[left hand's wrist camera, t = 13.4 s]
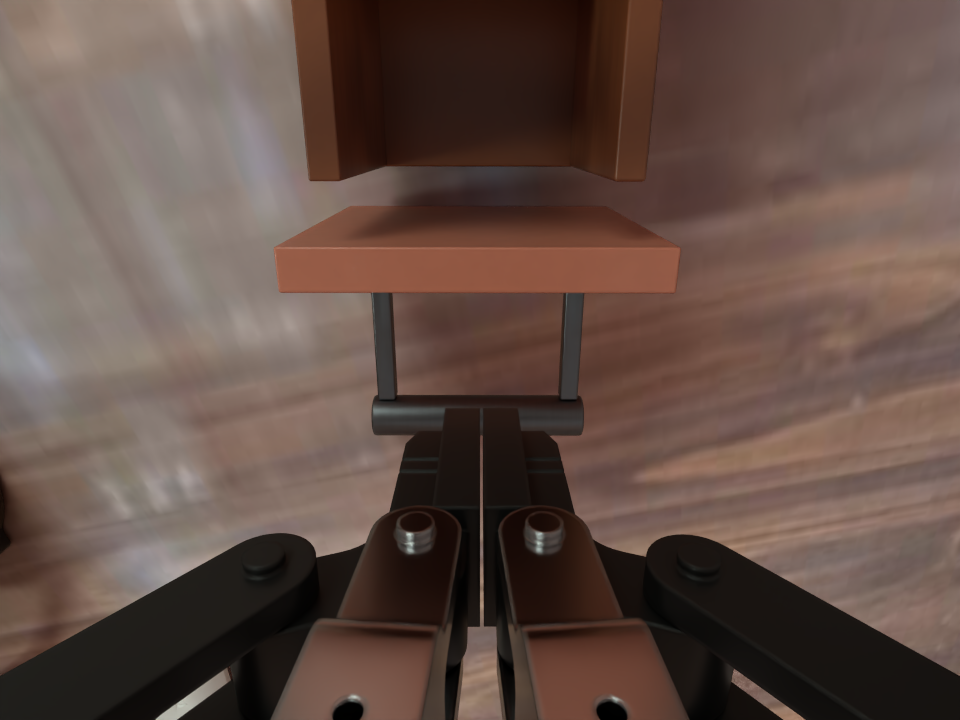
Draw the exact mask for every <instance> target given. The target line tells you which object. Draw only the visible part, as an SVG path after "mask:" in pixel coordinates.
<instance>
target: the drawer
mask: <svg viewBox="0 0 960 720" xmlns="http://www.w3.org/2000/svg"><path fill="white" fill-rule="evenodd" d="M291 1H292V11H293V22H294V32H295V42H296V52H297V63H298V73H299V83H300V94H301V104H302V114H303V124H304V135H305V145H306V155H307V166H308V176H309V180H310V181H341V180H344V179H347V178H350V177H353V176H357V175H360V174H363V173H366V172H369V171H372V170H375V169H379V168H382V167H385V166H553V167H575V168H578V169H581V170H584V171H587V172H590V173H593V174H596V175H599V176H602V177H605V178H608V179H611V180H614V181H617V182H642V181H645V179H646V172H647V162H648V152H649V141H650V131H651V121H652V110H653V100H654V90H655V80H656V69H657V59H658V49H659V38H660V28H661V18H662V8H663V0H291ZM680 253H681V248H680V247H678V246H676V245H674V244H673V243H671V242H669V241H667V240H665V239H664V238H662V237H660V236H658V235H656V234H655V233H653V232H651V231H649V230H647V229H646V228H644V227H642V226H640V225H638V224H637V223H635V222H633V221H631V220H629V219H628V218H626V217H624V216H622V215H620V214H619V213H617V212H615V211H613V210H612V209H610V208H608V207H602V206H350V207H348V208H346V209H344V210H342V211H341V212H339V213H337V214H335V215H333V216H331V217H329V218H328V219H326V220H324V221H322V222H320V223H318V224H316V225H315V226H313V227H311V228H309V229H307V230H305V231H304V232H302V233H300V234H298V235H296V236H294V237H292V238H291V239H289V240H287V241H285V242H283V243H281V244H279V245H278V246H276V247H274V254H275V263H276V271H277V279H278V287H279V292H281V293H371V294H372V310H373V325H374V340H375V355H376V371H377V386H378V395H376V396H375V397H374V400H373V404H372V429H373V432H374V434H375V435H416V434H417V433H418V432H419V431H442V428H443V421H444V413H445V408H480V435H483V408H518V412H519V419H520V426H521V431H544V432H545V433H546V434H548V435H563V436H579V435H581V434H582V431H583V426H584V408H583V401H582V398H581V396H579V395H578V381H579V366H580V350H581V335H582V320H583V305H584V293H675V292H676V286H677V278H678V270H679V261H680ZM392 293H563V311H562V330H561V349H560V367H559V386H558V394H559V395H397V392H398V391H397V372H396V353H395V334H394V315H393V296H392Z"/></svg>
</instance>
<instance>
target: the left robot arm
mask: <svg viewBox="0 0 960 720" xmlns="http://www.w3.org/2000/svg"><path fill="white" fill-rule="evenodd" d="M3 519H4V501H3V495H2V492H1V488H0V554H1V553H2V552H3V551H5V550H6V549H7V548H8V547H9V546H10V544H11V543H10V541H9V539H8V538H7V536H6V535H5V534H4V531H3V529H2V524H3ZM483 572H484V626H496V630H497V678H498V686H499V694H500V703H501V711H502V719H503V720H783V719H781V718H780V717H779V716H777V715H776V714H775V713H773V712H772V711H771V710H769V709H768V708H766V707H765V706H764V705H762V704H761V703H760V702H758V701H757V700H755V699H754V698H753V697H751V696H750V695H749V694H747V693H746V692H745V691H743V690H742V689H740V688H739V687H738V686H736V685H735V684H734V683H732V682H731V680H732V675H733V670H734V669H736V670H737V671H738V672H740V673H741V674H743V675H744V676H745V677H747V678H748V679H750V680H751V681H752V682H754V683H755V684H757V685H758V686H759V687H761V688H762V689H764V690H765V691H766V692H768V693H769V694H771V695H772V696H774V697H775V698H776V699H778V700H779V701H781V702H782V703H783V704H785V705H786V706H788V707H789V708H790V709H792V710H793V711H795V712H796V713H797V714H799V715H800V716H801V717H803V718H804V719H805V720H960V676H959V675H957V674H955V673H953V672H951V671H950V670H948V669H946V668H944V667H942V666H941V665H939V664H937V663H935V662H933V661H932V660H930V659H928V658H926V657H924V656H922V655H921V654H919V653H917V652H915V651H913V650H912V649H910V648H908V647H906V646H904V645H903V644H901V643H899V642H897V641H895V640H894V639H892V638H890V637H888V636H886V635H885V634H883V633H881V632H879V631H877V630H876V629H874V628H872V627H870V626H868V625H867V624H865V623H863V622H861V621H859V620H858V619H856V618H854V617H852V616H850V615H848V614H847V613H845V612H843V611H841V610H839V609H838V608H836V607H834V606H832V605H830V604H829V603H827V602H825V601H823V600H821V599H820V598H818V597H816V596H814V595H812V594H811V593H809V592H807V591H805V590H803V589H802V588H800V587H798V586H796V585H794V584H793V583H791V582H789V581H787V580H785V579H784V578H782V577H780V576H778V575H776V574H774V573H773V572H771V571H769V570H767V569H765V568H764V567H762V566H760V565H758V564H756V563H755V562H753V561H751V560H749V559H747V558H746V557H744V556H742V555H740V554H738V553H737V552H735V551H733V550H731V549H729V548H728V547H726V546H724V545H722V544H720V543H718V542H715V541H713V540H710V539H707V538H703V537H699V536H694V535H671V536H666V537H663V538H660V539H658V540H657V541H655V542H654V543H653V544H651V546H650V547H649V549H648V551H647V554H646V557H644V556H639V555H635V554H630V553H626V552H622V551H618V550H614V549H611V548H609V547H606V546H604V545H602V544H600V543H598V542H596V541H595V540H593V539H592V536H591V534H590V531H589V529H588V527H587V525H586V524H585V523H584V522H583V520H581V519H580V518H579V517H578V516H576V515H575V512H574V508H573V504H572V500H571V496H570V492H569V488H568V484H567V480H566V476H565V473H564V468H563V465H562V461H561V457H560V453H559V449H558V445H557V443H556V442H555V441H554V440H553V439H552V438H551V437H550V436H549V435H548V434H546V433H545V432H544V431H521V426H520V419H519V412H518V408H483ZM468 627H480V408H445V413H444V421H443V428H442V431H419V432H418V433H417V434H416V435H415V436H414V437H413V438H411V439H410V440H409V441H408V442H407V443H406V446H405V450H404V454H403V458H402V462H401V466H400V473H399V475H398V479H397V483H396V487H395V491H394V495H393V499H392V504H391V508H390V512H389V513H387V514H385V515H384V516H382V517H381V518H380V519H379V520H377V522H376V523H375V524H374V525H373V527H372V529H371V531H370V534H369V536H368V539H367V541H366V543H365V544H363V545H361V546H359V547H356V548H353V549H351V550H347V551H343V552H339V553H335V554H330V555H326V556H321V557H317V558H316V552H315V549H314V547H313V546H312V544H311V543H310V542H309V541H307V540H306V539H304V538H302V537H300V536H297V535H293V534H287V533H275V534H267V535H262V536H258V537H254V538H252V539H249V540H246V541H244V542H242V543H240V544H238V545H236V546H234V547H232V548H231V549H229V550H227V551H225V552H223V553H222V554H220V555H218V556H216V557H214V558H213V559H211V560H209V561H207V562H205V563H204V564H202V565H200V566H198V567H196V568H195V569H193V570H191V571H189V572H187V573H186V574H184V575H182V576H180V577H178V578H177V579H175V580H173V581H171V582H169V583H167V584H166V585H164V586H162V587H160V588H158V589H157V590H155V591H153V592H151V593H149V594H148V595H146V596H144V597H142V598H140V599H139V600H137V601H135V602H133V603H131V604H130V605H128V606H126V607H124V608H122V609H121V610H119V611H117V612H115V613H113V614H112V615H110V616H108V617H106V618H104V619H103V620H101V621H99V622H97V623H95V624H93V625H92V626H90V627H88V628H86V629H84V630H83V631H81V632H79V633H77V634H75V635H74V636H72V637H70V638H68V639H66V640H65V641H63V642H61V643H59V644H57V645H56V646H54V647H52V648H50V649H48V650H47V651H45V652H43V653H41V654H39V655H38V656H36V657H34V658H32V659H30V660H29V661H27V662H25V663H23V664H21V665H19V666H18V667H16V668H14V669H12V670H10V671H9V672H7V673H5V674H3V675H1V676H0V720H156V719H157V718H158V717H159V716H160V715H161V714H163V713H164V712H165V711H167V710H168V709H170V708H171V707H172V706H174V705H175V704H177V703H178V702H179V701H181V700H182V699H184V698H185V697H187V696H188V695H189V694H191V693H192V692H194V691H195V690H196V689H198V688H199V687H201V686H202V685H203V684H205V683H206V682H208V681H209V680H210V679H212V678H213V677H215V676H216V675H217V674H219V673H220V672H222V671H223V670H224V669H226V668H227V667H229V666H230V667H231V672H232V677H233V679H232V680H230V681H229V682H228V683H226V684H225V685H224V686H222V687H221V688H220V689H218V690H217V691H215V692H214V693H213V694H211V695H210V696H209V697H207V698H206V699H205V700H203V701H202V702H200V703H199V704H198V705H196V706H195V707H194V708H192V709H191V710H189V711H188V712H187V713H185V714H184V715H183V716H181V717H180V718H179V719H177V720H457V719H458V711H459V703H460V694H461V686H462V678H463V656H464V654H465V652H466V649H467V633H468Z"/></svg>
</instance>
